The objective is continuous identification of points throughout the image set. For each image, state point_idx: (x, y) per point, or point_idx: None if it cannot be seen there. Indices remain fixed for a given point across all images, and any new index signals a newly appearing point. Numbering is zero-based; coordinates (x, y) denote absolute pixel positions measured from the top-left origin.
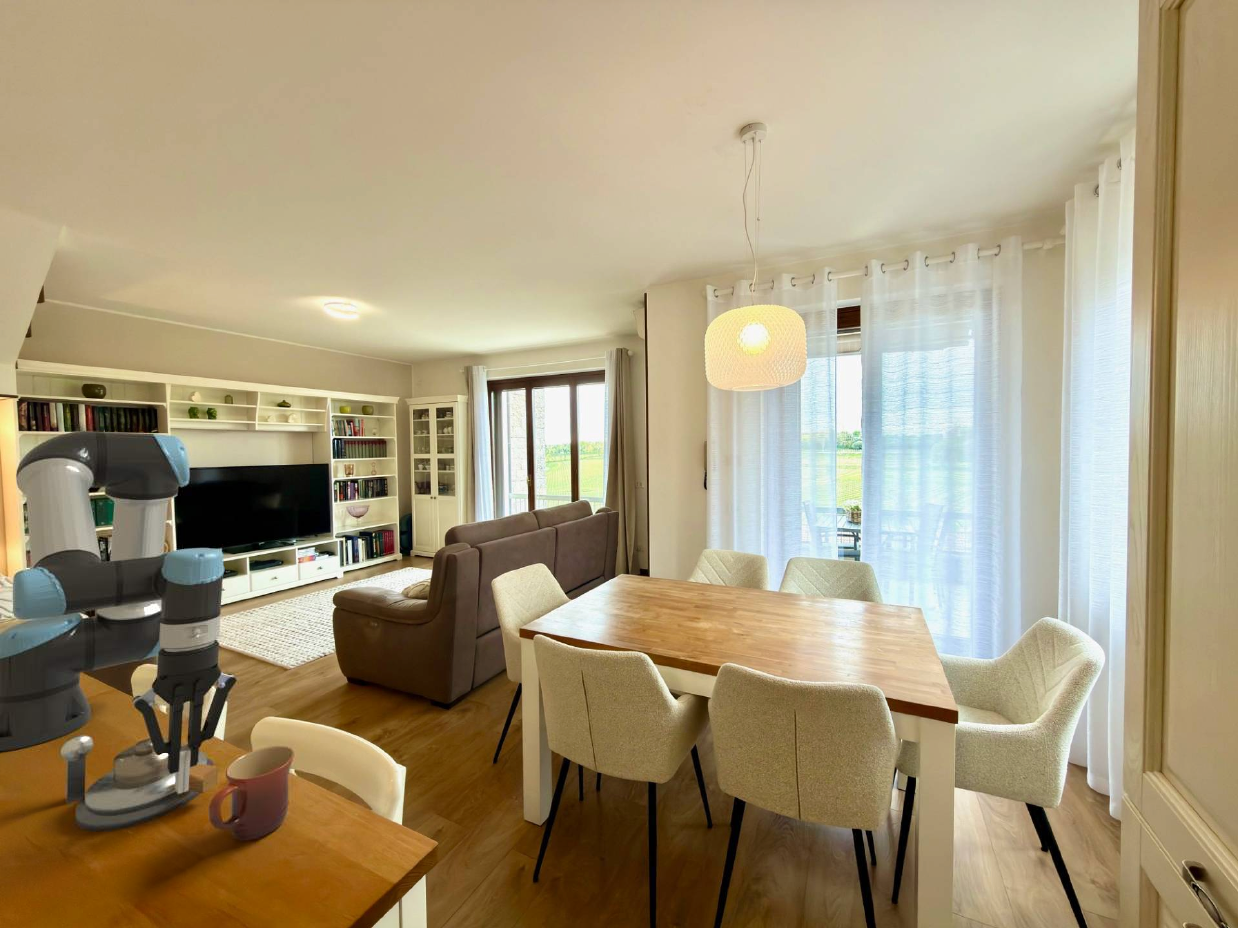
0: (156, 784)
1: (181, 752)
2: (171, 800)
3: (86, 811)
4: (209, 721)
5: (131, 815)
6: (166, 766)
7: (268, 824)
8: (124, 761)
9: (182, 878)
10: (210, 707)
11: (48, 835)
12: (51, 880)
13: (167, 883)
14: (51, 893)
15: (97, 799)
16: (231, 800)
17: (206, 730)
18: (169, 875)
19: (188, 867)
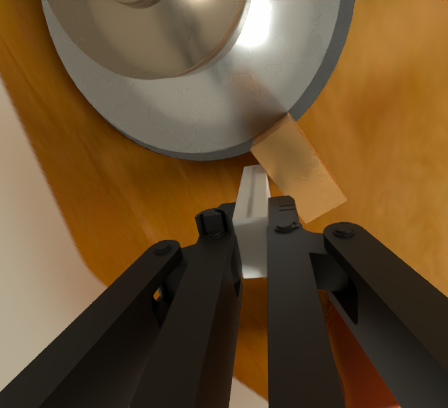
0: (204, 93)
1: (246, 272)
2: (242, 144)
3: None
4: (364, 341)
5: (173, 151)
6: (218, 55)
7: None
8: (79, 16)
9: (257, 340)
10: (412, 349)
11: (44, 71)
12: (104, 229)
13: (241, 336)
14: (114, 258)
15: (84, 74)
16: (337, 369)
17: (339, 305)
18: (243, 324)
19: (265, 326)
